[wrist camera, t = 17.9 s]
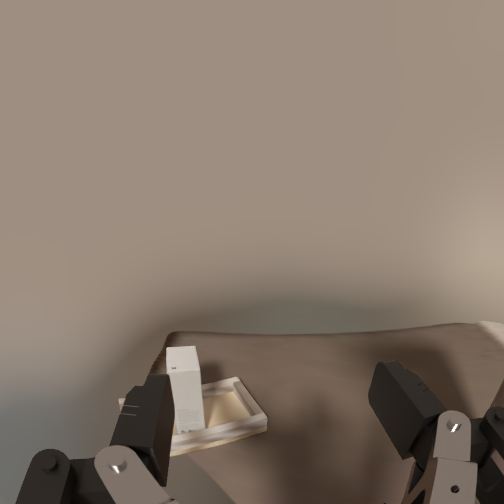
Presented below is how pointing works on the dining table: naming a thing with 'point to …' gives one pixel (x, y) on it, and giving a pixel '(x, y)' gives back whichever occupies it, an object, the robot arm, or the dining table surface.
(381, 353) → the dining table surface
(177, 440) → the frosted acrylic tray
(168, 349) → the skincare box
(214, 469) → the dining table surface
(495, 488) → the robot arm
